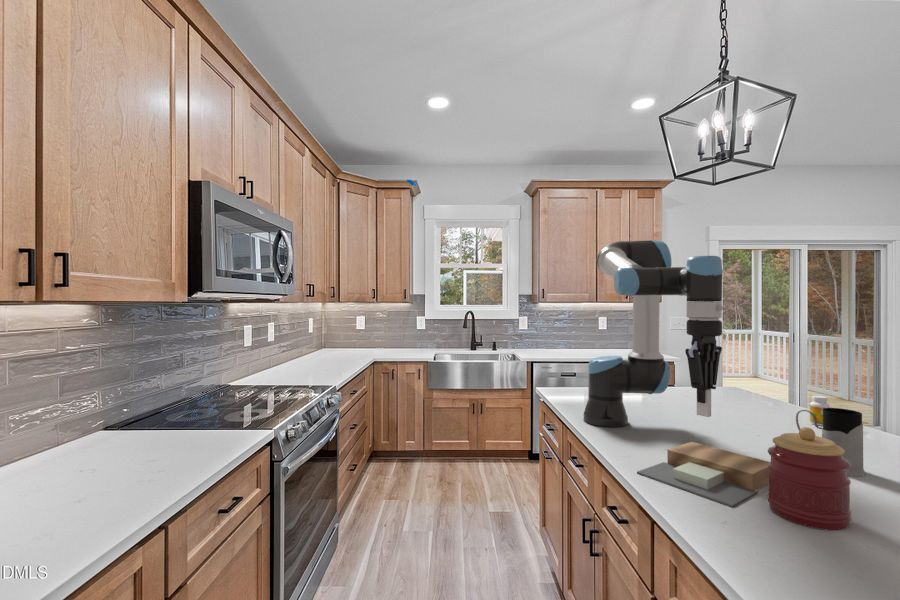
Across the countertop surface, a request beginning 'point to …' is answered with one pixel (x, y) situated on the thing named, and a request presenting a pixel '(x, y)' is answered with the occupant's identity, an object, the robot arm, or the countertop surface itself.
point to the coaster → (698, 475)
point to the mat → (719, 493)
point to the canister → (809, 481)
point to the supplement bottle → (818, 409)
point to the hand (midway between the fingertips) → (703, 415)
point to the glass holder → (844, 435)
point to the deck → (723, 464)
